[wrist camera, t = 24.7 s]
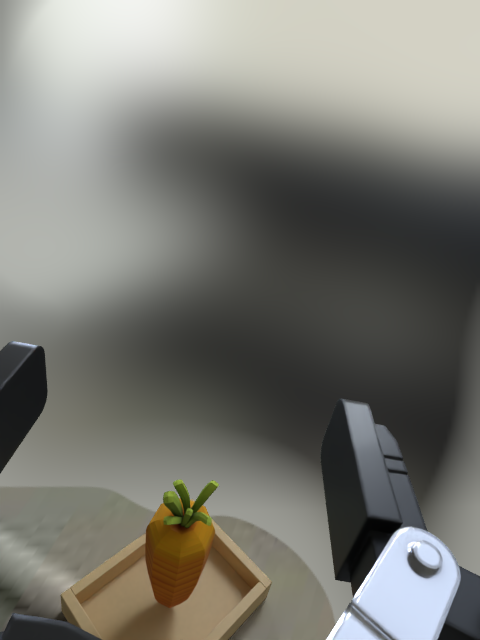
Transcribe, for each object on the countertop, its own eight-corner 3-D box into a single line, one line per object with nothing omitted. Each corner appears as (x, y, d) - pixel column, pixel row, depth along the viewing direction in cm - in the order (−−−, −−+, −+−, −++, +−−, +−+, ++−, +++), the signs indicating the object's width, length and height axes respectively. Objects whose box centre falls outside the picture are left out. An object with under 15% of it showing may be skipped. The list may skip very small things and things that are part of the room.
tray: (137, 739, 29) (139, 725, 28) (61, 611, 35) (60, 594, 33) (266, 597, 38) (272, 581, 37) (189, 514, 44) (192, 498, 43)
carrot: (199, 573, 39) (224, 459, 31) (197, 637, 34) (226, 522, 27) (143, 571, 38) (155, 454, 30) (134, 635, 34) (145, 518, 26)
